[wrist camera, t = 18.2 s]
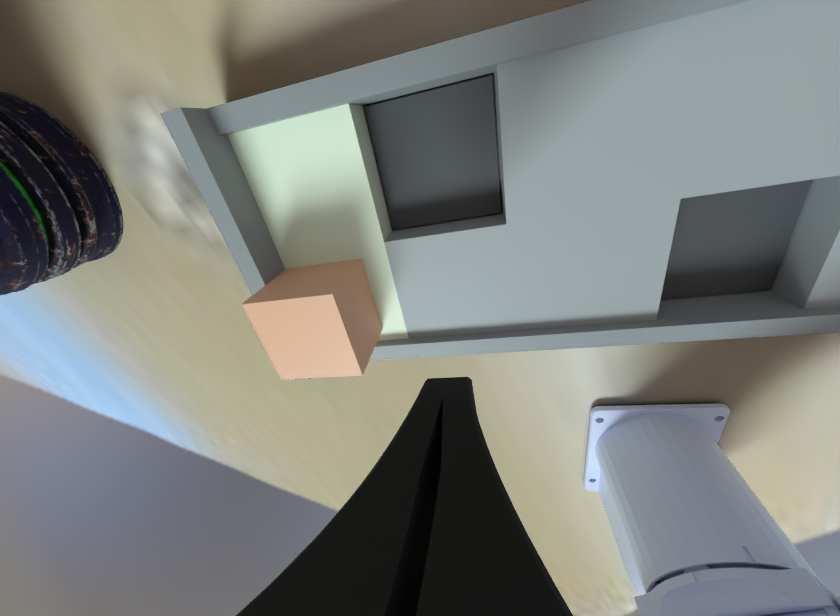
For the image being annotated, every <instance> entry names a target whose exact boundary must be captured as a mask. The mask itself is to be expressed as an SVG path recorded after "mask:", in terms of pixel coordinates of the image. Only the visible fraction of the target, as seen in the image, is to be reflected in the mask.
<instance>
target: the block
mask: <svg viewBox="0 0 840 616" xmlns="http://www.w3.org/2000/svg"><path fill="white" fill-rule="evenodd" d="M241 305H242V307H243V308H244V310H245V312H246V314H247V316H248V318H249V320H250V321H251V323H252V325H253V327H254V329H255V331H256V333H257V335H258V336H259V338H260V340H261V342H262V344H263V346H264V348H265V350H266V351H267V353H268V355H269V357H270V359H271V361H272V363H273V364H274V366H275V368H276V370H277V372H278V374H279V376H280V378H281V379H300V378H320V377H341V376H361V375H363V373H364V371H365V368H366V366H367V364H368V361H369V359H370V357H371V355H372V352H373V350H374V348H375V345H376V343H377V341H378V339H379V336H380V334H381V332H382V325H381V322H380V319H379V315H378V312H377V309H376V305H375V302H374V299H373V295H372V292H371V289H370V285H369V282H368V279H367V275H366V272H365V269H364V265H363V262H362V259H354V260H346V261H339V262H332V263H324V264H317V265H310V266H302V267H295V268H288V269H285V270H284V271H283V272H282V273H280V274H279V275H278V276H276V277H275V278H274V279H273V280H271V281H270V282H269V283H268V284H266V285H265V286H264V287H263V288H261V289H260V290H259V291H258V292H256V293H255V294H254V295H253V296H251V297H250V298H249V299H248V300H246V301H245V302H244V303H242V304H241Z"/></svg>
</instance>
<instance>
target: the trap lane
mask: <svg viewBox="0 0 840 616" xmlns="http://www.w3.org/2000/svg"><path fill="white" fill-rule="evenodd" d="M490 73H494V80H495V96H496V112H497V127H498V143H499V158H500V174H501V189H502V205H503V213H502V214H496V213H501V202H500V187H499V172H498V157H497V142H496V127H495V112H494V98H493V83H492V75H491V76H487V77H483V78H479V79H475V80H471V81H467V82H463V83H459V84H455V85H451V86H447V87H443V88H439V89H435V90H431V91H427V92H423V93H419V94H415V95H411V96H407V97H403V98H399V99H395V100H391V101H387V102H383V103H379V104H375V105H371V106H367V107H364V108H363V105H367V104H371V103H375V102H379V101H383V100H387V99H391V98H395V97H398V96H402V95H406V94H410V93H414V92H418V91H422V90H426V89H430V88H434V87H438V86H442V85H446V84H450V83H454V82H458V81H462V80H466V79H470V78H474V77H478V76H482V75H486V74H490ZM364 109H365V112H364ZM365 113H366V116H365ZM160 114H161V116H162V118H163V120H164V122H165V124H166V126H167V128H168V130H169V132H170V134H171V136H172V138H173V140H174V142H175V144H176V146H177V148H178V150H179V152H180V154H181V156H182V158H183V160H184V162H185V164H186V166H187V168H188V169H189V171H190V173H191V175H192V177H193V179H194V181H195V183H196V185H197V187H198V189H199V191H200V193H201V195H202V197H203V199H204V201H205V203H206V205H207V207H208V209H209V211H210V213H211V215H212V217H213V219H214V221H215V223H216V225H217V227H218V229H219V231H220V233H221V234H222V236H223V238H224V240H225V242H226V244H227V246H228V248H229V250H230V252H231V254H232V256H233V258H234V260H235V262H236V264H237V266H238V268H239V270H240V272H241V274H242V276H243V278H244V280H245V282H246V284H247V286H248V288H249V290H250V292H251V294H252V296H253V295H254V294H255V293H256V292H258V291H259V290H260V289H261V288H263V287H264V286H265V285H266V284H268V283H269V282H270V281H271V280H273V279H274V278H275V277H276V276H278V275H279V274H280V273H282V272H283V271H284V270H285V269H288V268H295V267H302V266H310V265H317V264H324V263H332V262H339V261H346V260H354V259H362V262H363V265H364V269H365V272H366V275H367V279H368V282H369V285H370V289H371V292H372V295H373V299H374V302H375V305H376V309H377V312H378V315H379V319H380V322H381V325H382V332H381V334H380V336H379V339H378V341H377V343H376V345H375V348H374V350H373V352H372V355H371V357H370V359H369V360H386V359H403V358H420V357H436V356H453V355H470V354H486V353H503V352H520V351H536V350H553V349H570V348H587V347H603V346H620V345H637V344H653V343H670V342H687V341H703V340H720V339H737V338H754V337H770V336H787V335H804V334H820V333H837V332H840V0H590V1H586V2H583V3H579V4H576V5H572V6H569V7H565V8H562V9H558V10H554V11H551V12H547V13H544V14H540V15H537V16H533V17H530V18H526V19H523V20H519V21H516V22H512V23H508V24H505V25H501V26H498V27H494V28H491V29H487V30H484V31H480V32H477V33H473V34H469V35H466V36H462V37H459V38H455V39H452V40H448V41H445V42H441V43H438V44H434V45H431V46H427V47H423V48H420V49H416V50H413V51H409V52H406V53H402V54H399V55H395V56H392V57H388V58H384V59H381V60H377V61H374V62H370V63H367V64H363V65H360V66H356V67H353V68H349V69H346V70H342V71H338V72H335V73H331V74H328V75H324V76H321V77H317V78H314V79H310V80H307V81H303V82H299V83H296V84H292V85H289V86H285V87H282V88H278V89H275V90H271V91H268V92H264V93H260V94H257V95H253V96H250V97H246V98H243V99H239V100H236V101H232V102H229V103H225V104H222V105H218V106H214V107H211V108H207V109H201V108H177V109H174V110H171V111H167V112H164V113H160ZM366 117H367V121H368V125H369V129H368V125H367V121H366ZM369 130H370V133H369ZM370 134H371V137H370ZM371 138H372V142H373V146H372V142H371ZM373 147H374V150H373ZM374 151H375V154H374ZM375 155H376V158H375ZM376 159H377V163H378V167H377V163H376ZM378 168H379V171H378ZM379 172H380V175H379ZM380 176H381V179H380ZM381 180H382V184H381ZM382 185H383V188H382ZM383 189H384V192H383ZM384 193H385V196H384ZM385 197H386V200H385ZM386 201H387V205H386ZM387 206H388V209H387ZM388 210H389V213H388ZM389 214H390V217H389ZM490 214H496V215H490ZM483 215H489V216H483ZM477 216H483V217H477ZM470 217H476V218H470ZM390 218H391V221H390ZM464 218H470V219H464ZM457 219H463V220H457ZM451 220H457V221H451ZM445 221H450V222H445ZM438 222H444V223H438ZM391 223H392V226H391ZM432 223H438V224H432ZM425 224H431V225H425ZM419 225H425V226H419ZM412 226H418V227H412ZM392 227H393V229H399V228H405V229H399V230H392ZM406 227H412V228H406ZM300 379H310V378H300ZM295 380H296V379H295Z"/></svg>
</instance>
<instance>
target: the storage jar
mask: <svg viewBox="0 0 840 616" xmlns="http://www.w3.org/2000/svg"><path fill="white" fill-rule="evenodd" d="M122 234H123V218H122V211H121V208H120V204H119V200H118V198H117V195H116V193H115V191H114V188H113V186H112V184H111V182H110V180H109V179H108V177H107V175H106V173H105V172H104V170H103V169H102V167H101V166H100V164H99V163H98V161H97V160H96V158H95V157H94V156H93V155H92V153H91V152H90V151H89V150H88V148H87V147H86V146H85V145H84V144H83V143H82V142H81V141H80V140H79V139H78V138H77V136H76V135H75V134H74V133H73V132H72V131H70V130H69V129H68V128H67V127H66V126H65V125H64V124H62V123H61V122H60V121H59V120H58V119H56V118H55V117H54V116H52V115H51V114H49V113H48V112H47V111H45V110H44V109H42V108H40V107H39V106H37V105H35V104H33V103H32V102H30V101H28V100H25V99H23V98H21V97H18V96H16V95H12V94H9V93H5V92H0V295H4V294H8V293H11V292H17V291H21V290H24V289H26V288H27V287H29V286H31V285H32V284H34V283H39V282H43V281H46V280H48V279H52V278H54V277H57V276H59V275H62V274H65V273H66V272H68V271H70V270H71V269H72V268H75V267H78V266H80V265H82V264H84V263H86V262H87V261H93V260H97V259H99V258H102V257H105V256H107V255H109V254H110V253H112V252H113V251H114V250H115V249H116V248H117V246H118V245H119V243H120V241H121V237H122Z"/></svg>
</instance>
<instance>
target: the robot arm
mask: <svg viewBox="0 0 840 616" xmlns="http://www.w3.org/2000/svg"><path fill="white" fill-rule="evenodd" d="M729 415H730V409H729V408H728V407H727V406H726V405H725V404H673V405H628V406H596V407H594V408H593V409H591V414H590V424H589V434H588V444H587V454H586V464H585V475H584V487H585V489H586V490H588V491H599V493H600V496H601V499H602V502H603V505H604V508H605V511H606V514H607V517H608V520H609V523H610V526H611V529H612V532H613V535H614V538H615V541H616V544H617V547H618V550H619V553H620V555H621V558H622V561H623V564H624V567H625V570H626V572H627V575H628V577H629V579H630V581H631V583H632V584H633V586H634V588H635V589H636V591H637V592H638V593H639V595H640V596H636V597H635V598H634V599H635V602H636V605H637V608H638V611H639V614H640V616H840V594H836V596H835V595H834V594H833V593H832V592H831V591H830V590H829V589H828V588H827V587H826V586H825V585H824V584H823V583H822V582H821V581H820V580H819V579H818V577H817V576H816V575H815V573H814V572H813V571H812V569H811V568H810V567H809V565H808V564H807V563H806V561H805V560H804V559H803V558H802V556H801V555H800V553H799V552H798V551H797V549H796V548H795V547H794V545H793V544H792V543H791V541H790V540H789V539H788V537H787V536H786V535H785V533H784V532H783V531H782V529H781V528H780V527H779V525H778V524H777V523H776V521H775V520H774V519H773V517H772V516H771V515H770V513H769V512H768V511H767V509H766V508H765V507H764V505H763V504H762V503H761V501H760V500H759V499H758V497H757V496H756V495H755V493H754V492H753V491H752V489H751V488H750V487H749V485H748V484H747V483H746V481H745V480H744V479H743V477H742V476H741V475H740V474H739V472H738V471H737V470H736V468H735V467H734V466H733V464H732V463H731V462H730V460H729V459H728V458H727V456H726V455H725V454H724V452H723V451H722V450H721V448H720V447H719V446H718V442H719V439H720V437H721V434H722V432H723V429H724V427H725V424H726V422H727V420H728V417H729ZM236 616H573V615H572V613H571V611H570V610H569V608H568V606H567V604H566V603H565V601H564V599H563V598H562V596H561V594H560V593H559V591H558V589H557V587H556V586H555V584H554V582H553V580H552V578H551V576H550V575H549V573H548V571H547V569H546V567H545V566H544V564H543V562H542V560H541V558H540V556H539V555H538V553H537V551H536V549H535V547H534V545H533V544H532V542H531V540H530V538H529V536H528V534H527V533H526V531H525V529H524V527H523V525H522V523H521V521H520V519H519V517H518V515H517V513H516V511H515V509H514V507H513V504H512V502H511V500H510V498H509V496H508V494H507V492H506V490H505V487H504V485H503V483H502V481H501V479H500V476H499V474H498V472H497V469H496V467H495V464H494V462H493V460H492V457H491V455H490V452H489V449H488V447H487V444H486V442H485V439H484V436H483V433H482V430H481V427H480V424H479V421H478V417H477V413H476V407H475V400H474V393H473V387H472V380H471V379H470V378H468V377H455V378H432V379H427V380H426V381H425V383H424V385H423V387H422V389H421V391H420V393H419V395H418V397H417V399H416V401H415V402H414V404H413V406H412V408H411V410H410V411H409V413H408V415H407V417H406V418H405V420H404V422H403V423H402V425H401V427H400V428H399V430H398V432H397V433H396V435H395V436H394V438H393V440H392V441H391V443H390V444H389V446H388V447H387V449H386V450H385V452H384V453H383V454H382V456H381V457H380V459H379V460H378V462H377V463H376V465H375V466H374V468H373V469H372V470H371V472H370V473H369V474H368V476H367V477H366V478H365V480H364V481H363V482H362V484H361V485H360V486H359V487H358V489H357V490H356V491H355V493H354V494H353V495H352V496H351V498H350V499H349V500H348V501H347V502H346V504H345V505H344V506H343V507H342V508H341V509H340V511H339V512H338V513H337V514H336V515H335V517H334V518H333V519H332V520H331V521H330V522H329V523H328V525H327V526H326V527H325V528H324V529H323V530H322V531H321V533H320V534H319V535H318V536H317V537H316V538H315V539H314V540H313V541H312V542H311V543H310V544H309V545H308V546H307V547H306V548H305V549H304V550H303V552H301V553H300V554H299V556H297V558H296V559H295V560H294V561H293V562H292V563H291V564H290V565H289V566H288V567H287V568H286V569H285V570H284V571H283V572H282V573H281V574H280V575H279V576H278V577H277V578H276V579H275V580H274V581H273V582H272V583H271V584H270V585H269V586H268V587H267V588H266V589H265V590H264V591H262V592H261V593H260V594H259V595H258V596H257V597H256V598H255V599H254V600H253V601H251V602H250V603H249V604H248V605H247V606H246V607H245V608H244V609H243V610H242V611H241V612H239V614H237V615H236Z"/></svg>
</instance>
